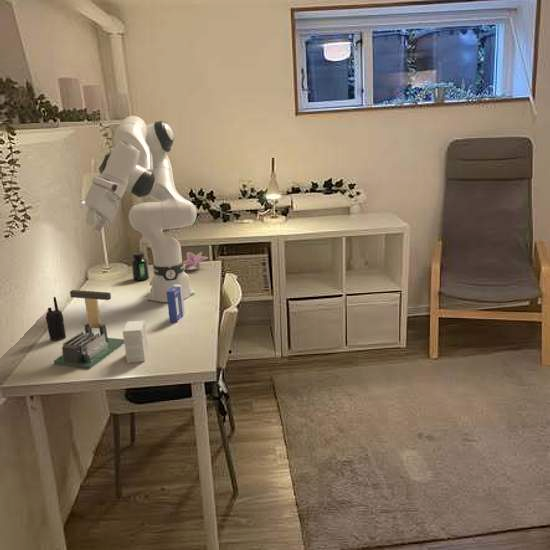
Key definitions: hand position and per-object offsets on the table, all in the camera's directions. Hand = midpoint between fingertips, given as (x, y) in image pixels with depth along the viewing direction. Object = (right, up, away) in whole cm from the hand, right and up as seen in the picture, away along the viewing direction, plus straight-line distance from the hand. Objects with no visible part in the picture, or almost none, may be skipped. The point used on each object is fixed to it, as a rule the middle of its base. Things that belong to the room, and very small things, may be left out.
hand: (92, 227), depth 180 cm
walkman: (+23, -31, +25) cm, 46 cm away
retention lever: (+1, -32, +1) cm, 32 cm away
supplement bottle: (-2, -17, +73) cm, 75 cm away
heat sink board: (0, -40, 0) cm, 40 cm away
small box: (+16, -41, -4) cm, 44 cm away
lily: (+21, -13, +83) cm, 86 cm away
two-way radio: (-16, -37, +12) cm, 42 cm away
